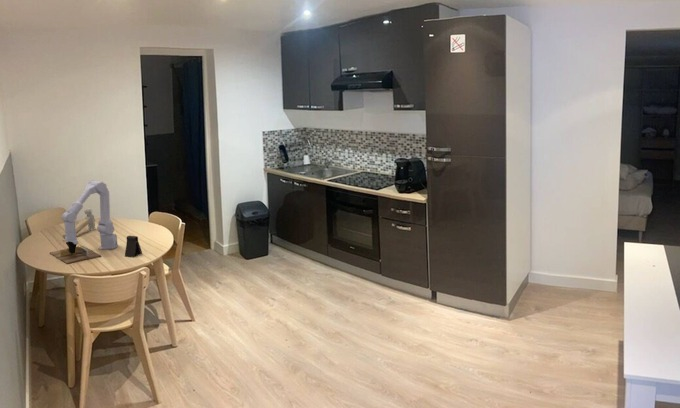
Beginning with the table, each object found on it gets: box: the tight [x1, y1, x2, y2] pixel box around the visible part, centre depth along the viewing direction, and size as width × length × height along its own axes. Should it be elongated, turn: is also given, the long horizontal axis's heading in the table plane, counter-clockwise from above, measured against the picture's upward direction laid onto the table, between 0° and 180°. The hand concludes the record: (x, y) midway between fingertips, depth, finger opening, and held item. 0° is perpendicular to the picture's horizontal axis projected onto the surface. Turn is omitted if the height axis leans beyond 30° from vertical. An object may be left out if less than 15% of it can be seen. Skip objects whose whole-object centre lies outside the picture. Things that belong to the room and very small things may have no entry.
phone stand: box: [124, 235, 143, 258], centre depth 334 cm, size 9×6×12 cm, turn 164°
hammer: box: [62, 207, 96, 240], centre depth 376 cm, size 16×5×30 cm
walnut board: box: [49, 245, 102, 265], centre depth 333 cm, size 28×20×1 cm
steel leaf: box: [78, 247, 89, 257], centre depth 331 cm, size 13×2×4 cm, turn 46°
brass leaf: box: [59, 245, 83, 257], centre depth 331 cm, size 13×2×4 cm, turn 136°
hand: (72, 253), depth 330 cm, fingers closed
